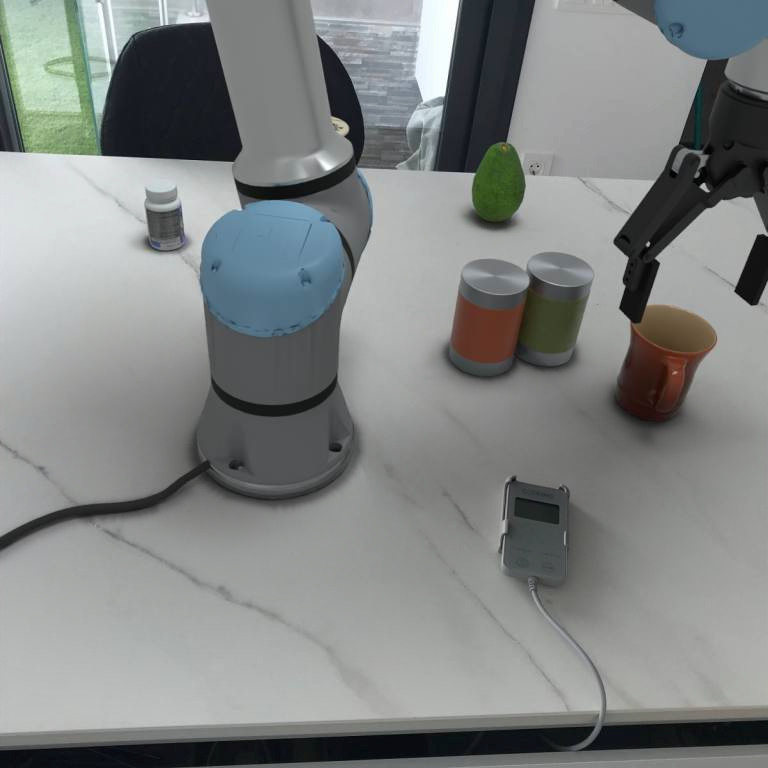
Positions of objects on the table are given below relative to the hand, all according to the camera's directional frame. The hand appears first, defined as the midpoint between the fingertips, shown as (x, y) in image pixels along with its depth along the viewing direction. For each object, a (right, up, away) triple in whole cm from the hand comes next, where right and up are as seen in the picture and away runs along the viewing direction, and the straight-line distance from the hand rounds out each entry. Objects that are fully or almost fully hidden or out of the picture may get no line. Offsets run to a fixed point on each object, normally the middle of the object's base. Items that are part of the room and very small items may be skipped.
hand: (688, 307), depth 76 cm
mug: (-1, -11, +9) cm, 14 cm away
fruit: (-13, +17, +42) cm, 47 cm away
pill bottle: (-59, +12, +30) cm, 67 cm away
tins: (-15, -4, +16) cm, 22 cm away
